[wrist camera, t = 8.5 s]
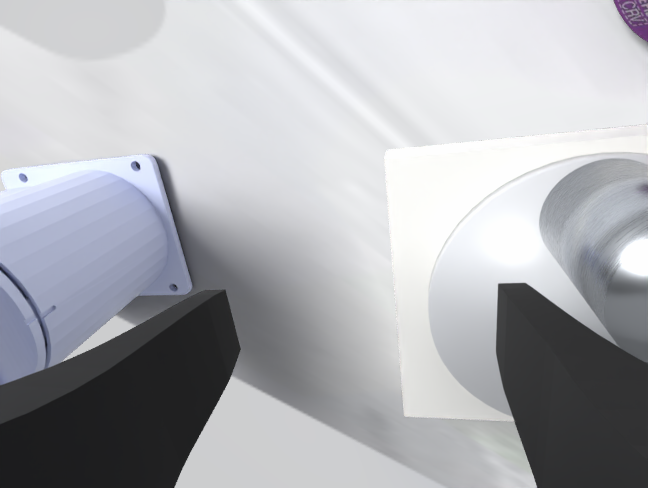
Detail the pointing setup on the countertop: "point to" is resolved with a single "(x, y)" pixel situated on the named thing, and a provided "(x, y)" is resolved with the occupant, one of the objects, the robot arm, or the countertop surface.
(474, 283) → the kitchen scale
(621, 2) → the beverage can
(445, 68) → the countertop surface
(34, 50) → the countertop surface
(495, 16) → the countertop surface
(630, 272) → the steel spacer
